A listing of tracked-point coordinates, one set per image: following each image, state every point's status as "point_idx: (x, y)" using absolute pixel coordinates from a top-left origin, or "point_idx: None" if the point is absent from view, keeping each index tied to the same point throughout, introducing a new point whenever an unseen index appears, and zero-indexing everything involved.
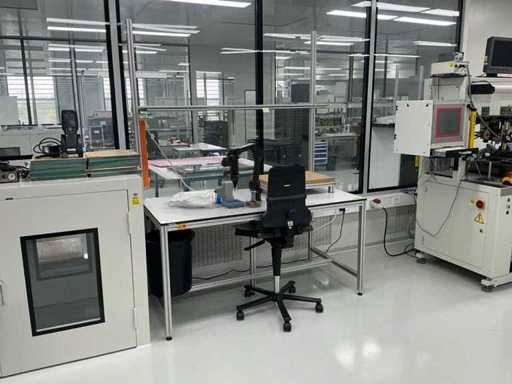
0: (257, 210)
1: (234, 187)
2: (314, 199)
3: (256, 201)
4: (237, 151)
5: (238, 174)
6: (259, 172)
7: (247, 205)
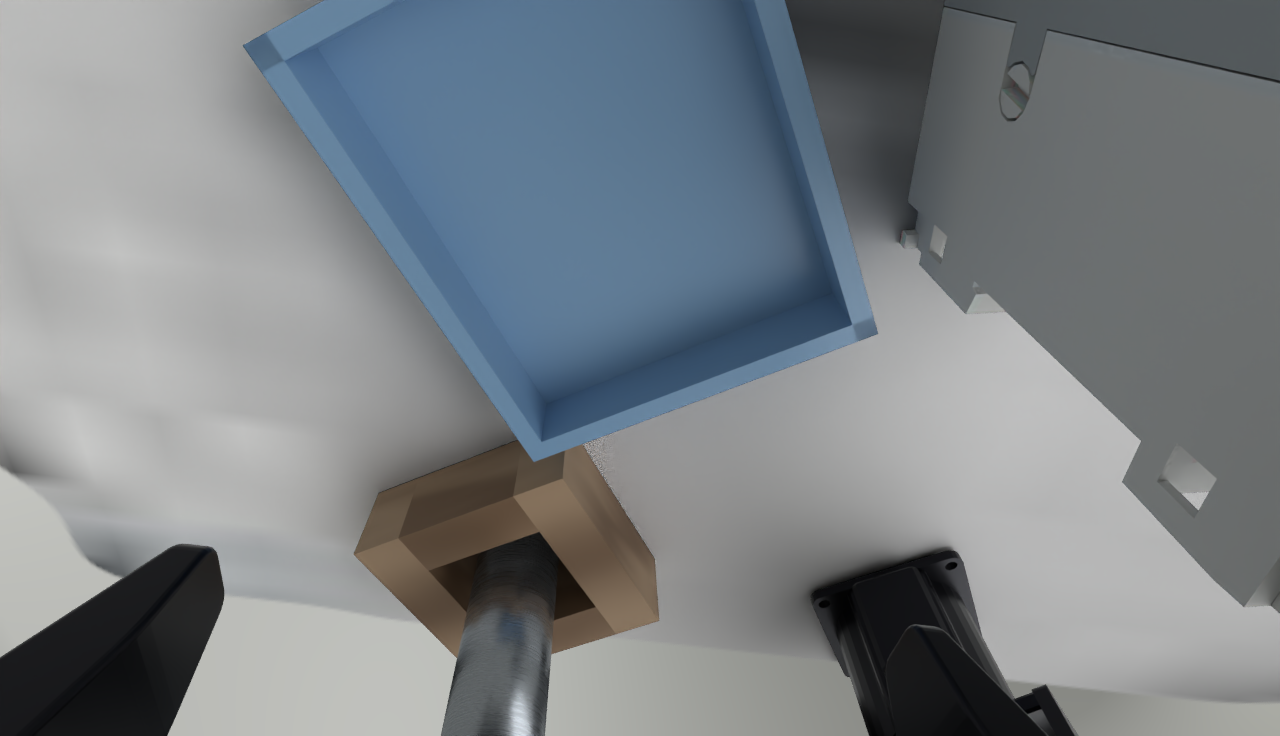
0: (183, 541)
1: (118, 610)
2: None
3: None
4: None
5: None
6: None
7: (500, 455)
